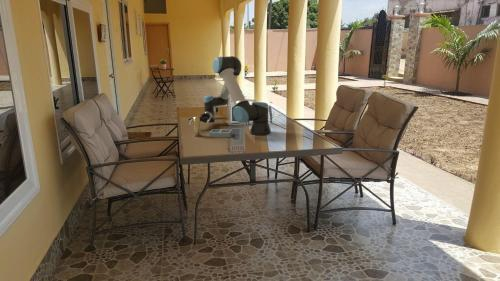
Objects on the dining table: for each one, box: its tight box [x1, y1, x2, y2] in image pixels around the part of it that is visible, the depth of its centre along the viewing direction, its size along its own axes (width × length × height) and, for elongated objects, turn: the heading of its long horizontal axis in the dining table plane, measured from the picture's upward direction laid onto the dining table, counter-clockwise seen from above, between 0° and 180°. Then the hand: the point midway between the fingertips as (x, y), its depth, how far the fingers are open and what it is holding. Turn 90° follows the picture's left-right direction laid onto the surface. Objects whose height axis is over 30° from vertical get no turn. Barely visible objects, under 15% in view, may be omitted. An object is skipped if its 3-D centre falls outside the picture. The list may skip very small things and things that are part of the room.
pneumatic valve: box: [203, 106, 219, 119], centre depth 328 cm, size 6×12×12 cm, turn 101°
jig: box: [208, 128, 233, 138], centre depth 268 cm, size 15×10×4 cm, turn 82°
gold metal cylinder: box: [192, 116, 201, 138], centre depth 268 cm, size 4×4×14 cm
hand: (198, 122), depth 273 cm, fingers open, 13 cm apart
